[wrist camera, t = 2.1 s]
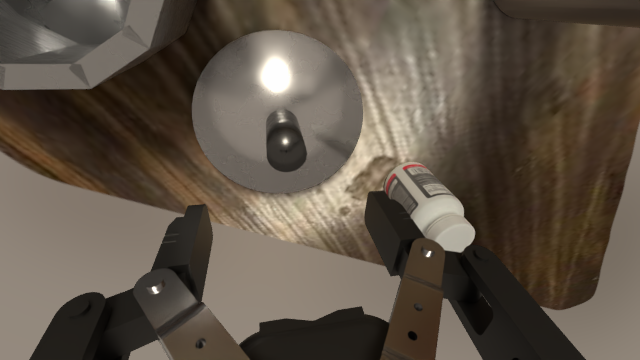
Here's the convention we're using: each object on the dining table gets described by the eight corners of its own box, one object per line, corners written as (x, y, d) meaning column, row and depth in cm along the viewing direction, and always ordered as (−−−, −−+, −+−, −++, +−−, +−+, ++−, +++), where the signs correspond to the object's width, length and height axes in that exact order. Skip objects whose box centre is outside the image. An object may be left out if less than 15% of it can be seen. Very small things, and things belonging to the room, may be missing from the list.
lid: (365, 30, 22) (404, 41, 16) (349, 177, 30) (371, 223, 24) (178, 25, 20) (140, 36, 14) (212, 187, 28) (199, 240, 22)
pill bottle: (399, 206, 34) (442, 270, 26) (374, 183, 31) (413, 246, 23) (435, 178, 32) (492, 237, 24) (412, 151, 30) (468, 207, 22)
